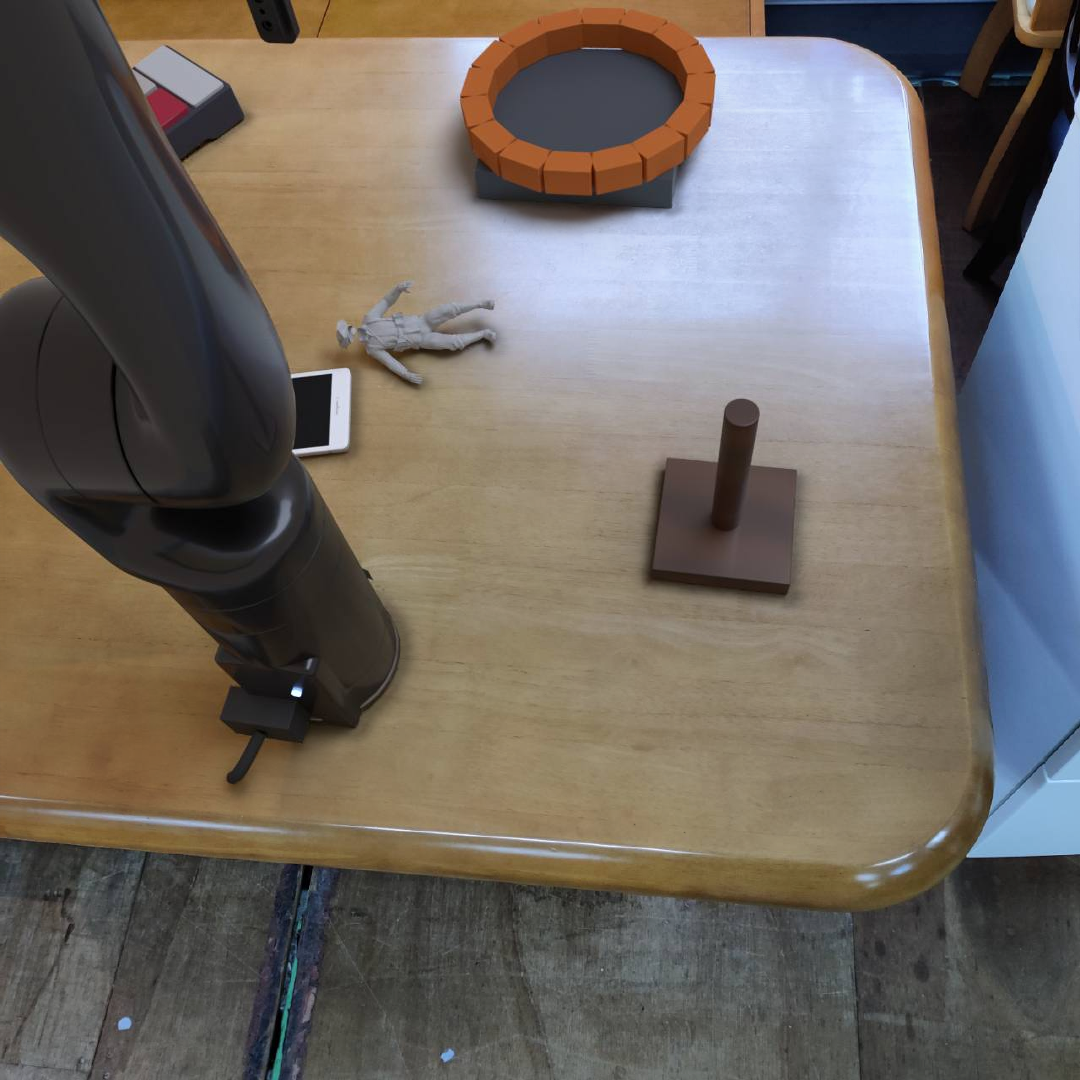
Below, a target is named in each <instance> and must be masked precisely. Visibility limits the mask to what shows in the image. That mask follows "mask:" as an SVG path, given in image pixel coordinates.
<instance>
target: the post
mask: <svg viewBox="0 0 1080 1080" xmlns="http://www.w3.org/2000/svg"><path fill="white" fill-rule="evenodd" d="M760 416H761V411H760V408H759V406H758V405H757V404H756V403H755V402H754V401H753V400H751V399H747V398H742V397H741V398H735V399H732V400H731V401H729V402H728V403H727V404H726V405H725V407H724V410H723V416H722V417H723V418H722V425H721V434H720V442H719V449H718V450H719V451H718V458H717V461H709V460H708V461H707V460H699V459H687V458H676V457H666V461H665V468H664V476H663V484H662V490H661V491H662V492H661V497H660V498H661V499H660V505H659V506H660V507H659V514H658V522H657V528H656V536H655V543H654V551H653V557H652V566H651V579H652V580H658V581H667V582H676V583H684V584H686V583H687V584H693V585H702V586H712V587H721V588H729V589H737V590H746V591H747V590H748V591H755V592H765V593H773V594H781V595H788V593H789V590H790V587H791V582H792V581H791V580H792V579H791V578H792V563H793V561H792V560H793V544H794V529H795V509H796V491H797V476H798V475H797V474H798V473H797V472H798V471H797V469H795V468H794V469H793V468H783V467H773V466H764V465H763V466H762V465H752V461H753V455H754V450H755V449H754V448H755V443H756V437H757V432H758V427H759V421H760Z"/></svg>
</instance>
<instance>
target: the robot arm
mask: <svg viewBox="0 0 1080 1080" xmlns="http://www.w3.org/2000/svg"><path fill="white" fill-rule="evenodd" d="M246 4H247V6H248V9H249V11H250V14H251V17H252V20H253V22H254V25H255V28H256V31H257V33H258V36H259V38H260V39H261V40H262V41H263V42H265V43H267V44H282V45H292V44H294V43H295V42H296V41H297V39H298V38H299V35H300V33H301V28H300V26H299V22H298V19H297V17H296V14H295V13H296V12H295V10H294V7H293V5H292V1H291V0H246ZM121 47H122V46H121V45H120V43H119V41H118V39H117V37H116V35H115V33H114V31H113V29H112V27H111V25H110V22H109V20H108V19H107V17H106V14H105V12H104V10H103V9H102V7H101V4H100V3H99V0H0V237H1V238H2V239H3V240H4V241H6V242H7V243H8V244H10V245H11V246H12V247H13V248H14V249H15V250H16V251H18V252H19V254H21V255H22V256H23V257H25V258H26V259H27V260H28V261H29V262H30V263H32V265H34V266H35V268H36V269H38V270H39V271H40V273H42V275H44V276H39V277H35V278H31V279H29V280H25V281H23V282H20V283H19V284H17V285H15V286H12V287H11V288H10V289H8V290H6V291H5V292H4V293H3V294H2V295H1V296H0V462H1V463H2V465H3V466H4V468H5V469H6V470H7V471H8V473H9V474H10V475H11V476H12V477H13V479H14V481H16V482H17V484H18V485H19V486H20V487H21V488H22V489H23V490H24V491H25V492H27V493H28V495H29V496H30V497H31V498H32V499H33V500H35V502H36V503H38V504H39V505H40V506H41V507H42V508H43V509H45V510H46V511H47V512H48V513H49V514H50V515H51V516H53V518H55V519H56V520H58V522H60V523H61V524H62V525H63V526H64V527H66V528H67V529H68V530H70V532H72V533H73V534H75V535H76V536H77V537H78V538H79V539H80V540H82V541H83V543H85V544H86V545H88V546H89V547H90V548H91V549H93V550H94V551H95V552H96V553H97V554H99V555H100V556H101V557H102V558H103V559H105V560H106V561H107V562H108V563H110V564H111V565H113V566H114V567H116V569H119V570H120V571H122V572H123V573H125V574H127V575H129V576H132V577H134V578H136V579H137V580H141V581H144V582H146V583H149V584H152V585H155V586H157V587H159V588H162V589H163V590H164V591H165V592H166V593H167V594H168V595H169V596H170V597H171V598H172V599H173V600H174V601H175V602H176V603H177V604H178V605H179V606H180V607H181V608H182V609H183V610H184V611H185V612H186V613H187V614H188V615H189V616H190V617H191V618H192V619H193V620H194V621H195V622H196V624H197V625H199V626H200V627H201V628H202V629H203V630H204V631H205V632H206V633H207V634H208V635H209V637H211V638H212V639H213V640H214V641H215V642H216V643H217V644H218V647H217V649H216V652H215V655H214V662H215V664H216V665H217V666H218V667H219V668H221V669H222V671H224V672H225V673H226V674H227V675H228V676H229V677H230V678H231V679H232V680H233V681H234V682H235V683H236V684H237V685H230V686H229V689H228V692H227V694H226V697H225V701H224V704H223V706H222V709H221V713H220V715H219V718H218V720H219V721H221V722H222V724H224V725H225V726H226V727H228V728H229V729H230V730H231V731H232V732H234V733H235V734H236V735H242V736H249V737H250V739H249V741H248V743H247V744H246V746H245V748H244V750H243V752H242V754H241V755H240V757H239V759H238V761H237V763H236V764H235V766H234V767H233V769H232V770H230V771H229V772H228V773H226V777H225V779H226V782H227V783H228V784H229V785H236V784H237V783H239V782H240V781H242V780H243V779H244V778H245V776H246V775H247V774H248V772H249V770H250V769H251V767H252V765H253V764H254V762H255V760H256V758H257V756H258V754H259V752H260V751H261V748H262V746H263V745H264V743H265V740H266V739H268V740H275V741H281V742H288V743H294V744H301V745H303V744H304V742H305V739H306V736H307V732H308V729H309V725H310V723H315V724H329V725H337V726H343V727H350V728H355V727H357V726H358V725H359V723H360V719H361V716H362V714H363V712H364V711H365V710H366V709H368V708H369V707H370V706H372V705H373V704H374V703H375V702H376V701H377V700H378V699H379V698H380V697H381V696H382V695H383V694H384V692H385V691H386V690H387V689H388V687H389V686H390V684H391V683H392V680H393V679H394V677H395V674H396V672H397V670H398V666H399V662H400V656H401V639H400V638H401V637H400V633H399V631H398V628H397V625H396V622H395V621H394V619H393V617H392V615H391V614H390V612H389V611H388V609H387V608H386V607H385V605H383V603H382V601H381V599H380V597H379V595H378V594H377V592H376V590H375V588H374V587H373V585H372V583H371V581H372V582H373V581H374V578H373V576H372V575H371V573H370V571H369V569H368V570H367V569H365V568H363V566H362V565H361V564H360V562H359V560H358V558H357V557H356V554H355V553H354V551H353V549H352V548H351V546H350V544H349V542H348V541H347V538H346V537H345V535H344V534H343V532H342V530H341V527H340V526H339V524H338V523H337V521H336V519H335V517H334V516H333V514H332V511H331V510H330V508H329V506H328V504H327V503H326V501H325V499H324V497H323V496H322V494H321V492H320V491H319V489H318V486H317V484H316V483H315V481H314V479H313V478H312V476H311V474H310V472H309V471H308V469H307V467H306V466H305V464H304V463H303V462H302V461H301V458H300V457H297V456H296V455H295V454H294V453H293V452H292V449H293V444H294V439H295V429H296V407H295V394H294V388H293V383H292V378H291V374H292V373H291V370H290V366H289V362H288V359H287V355H286V352H285V349H284V345H283V343H282V340H281V337H280V336H279V333H278V331H277V328H276V326H275V324H274V321H273V319H272V317H271V315H270V313H269V311H268V309H267V307H266V305H265V303H264V300H263V299H262V297H261V294H260V293H259V291H258V290H257V288H256V286H255V284H254V282H253V280H252V279H251V277H250V276H249V274H248V272H247V270H246V269H245V266H244V265H243V263H242V262H241V261H240V258H239V257H238V255H237V254H236V252H235V250H234V248H233V246H232V245H231V243H230V242H229V240H228V238H227V236H226V235H225V233H224V231H223V230H222V228H221V227H220V225H219V223H218V221H217V220H216V218H215V216H214V214H213V213H212V211H211V209H210V208H209V207H208V205H207V203H206V201H205V200H204V198H203V197H202V195H201V193H200V191H199V190H198V188H197V186H196V184H195V183H194V181H193V179H192V178H191V176H190V174H189V173H188V171H187V169H186V168H185V166H184V164H183V162H182V161H181V159H179V158H178V156H177V154H176V152H175V151H174V149H173V147H172V146H171V144H170V142H169V140H168V139H167V137H166V135H165V133H164V131H163V129H162V127H161V125H160V123H159V122H158V120H157V118H156V116H155V114H154V112H153V110H152V108H151V106H150V104H149V102H148V100H147V98H146V96H145V95H144V93H143V91H142V89H141V87H140V85H139V83H138V81H137V79H136V77H135V75H134V73H133V71H132V67H131V65H130V63H129V62H128V59H127V58H126V55H125V53H124V51H123V49H122V48H121Z"/></svg>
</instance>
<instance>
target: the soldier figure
mask: <svg viewBox="0 0 1080 1080" xmlns="http://www.w3.org/2000/svg"><path fill="white" fill-rule="evenodd" d="M414 284H415V282H414V280H404V281H402V282H400V283H399V284H397V285H395V286H394V287H393V288H392V289H391V290H389V291H388V292H387V293H386V294H385V295H383V297H381V299H380V300H379V301H378V302H377V303H376V304H375V305H374V306H373V307H371V308H370V309H369V310H368V311H367V312H366V313H364V315H363V318H362V324H361V325H360V326H358V327H357V326H354V327H353V324H347V323H346V322H345V319H344V318H341V319H340V320H339V321H338V322H337V324H336V328H335V329H336V331H335V332H336V334H335V337H336V340H337V342H338V346H339V348H340V349H345V350H347V349H348V347H349V345H351V344H353V343H354V340H355V335H356V333H357V340H358V342H360V343H362V344H364V348H365V350H366V353H367V354H368V355H370V356H371V357H373V358H374V359H376V360H377V361H379V363H380V364H382V365H384V366H386V367H387V368H388V369H389V370H390V371H391V372H393V373H395V374H396V375H397V376H400V377H401V378H403V379H404V380H407V381H409V382H411V383H414V384H419V385H421V384H423V383H422V382H423V378H422V374H418V373H412V372H410V371H409V369H407V368H406V367H405V366H404V365H402V363H401V362H400V361H399V360H397V359H396V358H395V357H393V356H392V355H391V354H390V353H389V352H388V351H387V350H388V349H389V350H390V349H392V350H393V352H403V353H404V351H405V350H409V349H414V350H420V349H426V350H436V351H437V350H438V351H442V350H445V349H447V350H451V351H456V350H458V349H459V350H463V349H465V347H466V346H468V345H470V344H472V343H474V342H478V341H480V340H482V339H485V340H488V341H490V342H492V343H495V342H496V339H497V333H496V331H492V329H491V328H485V329H483V330H481V329H480V330H478V331H476V332H469V333H462V334H461V333H457V334H456V333H453V334H449V333H442V332H438V331H435V330H436V329H437V327H439V326H441V325H443V324H445V323H446V322H448V321H449V320H454V319H455V318H457V316H460V315H462V314H465V313H469V312H472V311H473V310H475V309H484V310H489V311H494V310H495V300H494V299H481V300H466V301H465V300H463V301H451V302H450V303H441V304H440V305H438V306H436V307H435V308H433V309H431V310H429V311H428V312H426V313H423V314H421V315H419V316H418V314H411V315H403V312H394V313H391V317H386V316H385V317H384V315H385V314H386V313H387V311H388V310H389V308H391V307H392V306H394V305H395V304H396V302H397V301H398V299H399V298H400V296H401V294H402V293H403V292H404V293H406V294H411V291H410V290H407V289H408V288H413V286H414ZM356 327H357V328H356Z"/></svg>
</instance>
